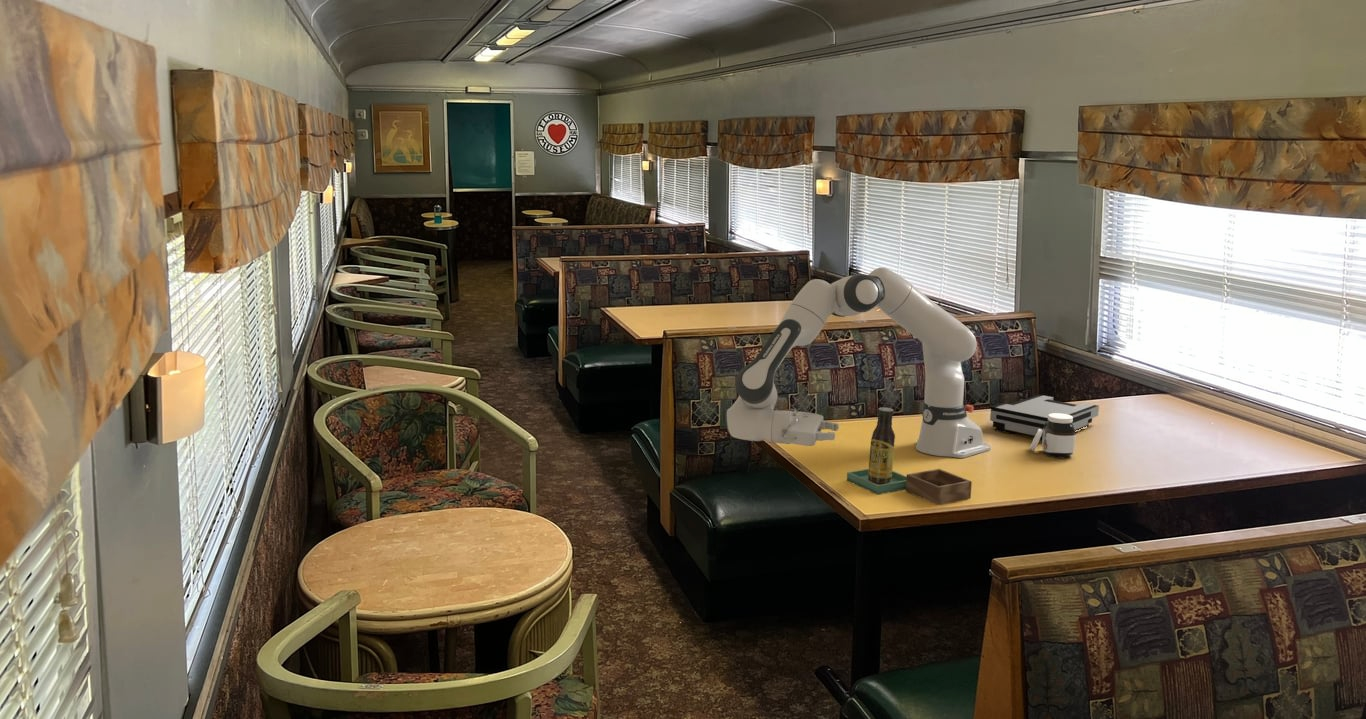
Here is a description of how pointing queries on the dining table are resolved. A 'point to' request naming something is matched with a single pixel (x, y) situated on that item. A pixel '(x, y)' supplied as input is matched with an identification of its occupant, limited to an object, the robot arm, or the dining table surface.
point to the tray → (862, 480)
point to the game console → (1038, 414)
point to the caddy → (938, 486)
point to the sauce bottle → (882, 448)
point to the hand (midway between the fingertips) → (836, 431)
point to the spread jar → (1056, 436)
